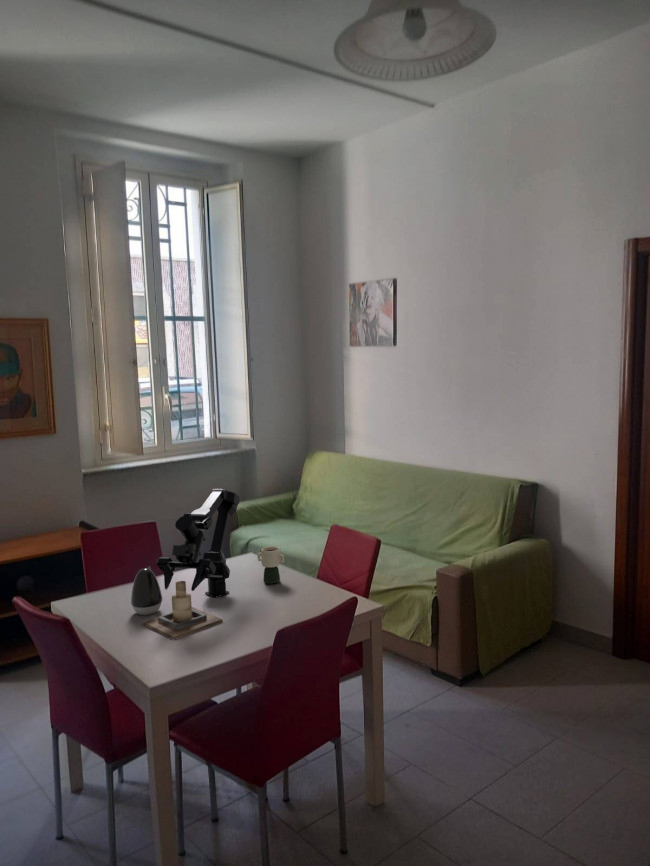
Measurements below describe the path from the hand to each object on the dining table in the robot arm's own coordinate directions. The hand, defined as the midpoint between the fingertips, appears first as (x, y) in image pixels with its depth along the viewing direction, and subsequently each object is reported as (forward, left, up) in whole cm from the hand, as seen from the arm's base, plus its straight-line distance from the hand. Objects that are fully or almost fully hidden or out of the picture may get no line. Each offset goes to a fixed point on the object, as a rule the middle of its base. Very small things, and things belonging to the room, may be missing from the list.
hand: (178, 589), depth 210 cm
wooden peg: (-1, +1, -11) cm, 11 cm away
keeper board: (-1, +1, -12) cm, 12 cm away
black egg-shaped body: (-19, -1, -12) cm, 22 cm away
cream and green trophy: (-9, +46, -12) cm, 48 cm away
